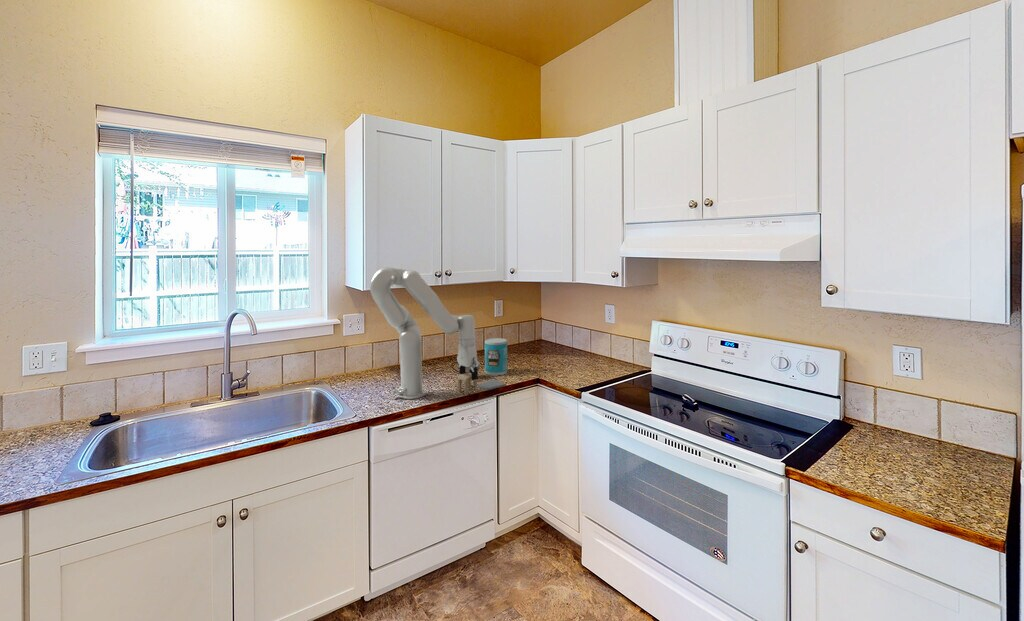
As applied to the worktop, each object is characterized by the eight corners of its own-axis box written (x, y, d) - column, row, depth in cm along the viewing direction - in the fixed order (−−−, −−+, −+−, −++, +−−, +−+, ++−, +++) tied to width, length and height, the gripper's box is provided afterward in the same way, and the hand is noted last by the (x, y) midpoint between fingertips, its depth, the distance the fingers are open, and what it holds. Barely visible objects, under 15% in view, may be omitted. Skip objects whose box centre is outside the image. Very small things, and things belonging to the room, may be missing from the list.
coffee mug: (477, 376, 236) (477, 357, 235) (471, 380, 228) (471, 361, 227) (457, 374, 239) (456, 356, 238) (450, 379, 231) (450, 360, 230)
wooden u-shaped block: (465, 394, 206) (465, 378, 205) (458, 391, 211) (457, 375, 210) (477, 391, 211) (476, 375, 209) (469, 388, 215) (469, 372, 214)
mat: (486, 390, 213) (486, 388, 213) (475, 386, 219) (475, 384, 219) (506, 385, 220) (506, 383, 220) (494, 381, 227) (494, 379, 227)
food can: (491, 377, 234) (491, 343, 232) (481, 371, 244) (480, 339, 242) (511, 373, 240) (511, 341, 238) (500, 368, 250) (500, 337, 248)
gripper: (450, 340, 212) (451, 375, 214) (471, 345, 199) (473, 383, 201) (463, 337, 216) (464, 372, 219) (484, 343, 203) (486, 379, 206)
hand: (468, 377), depth 210 cm, fingers open, 9 cm apart
